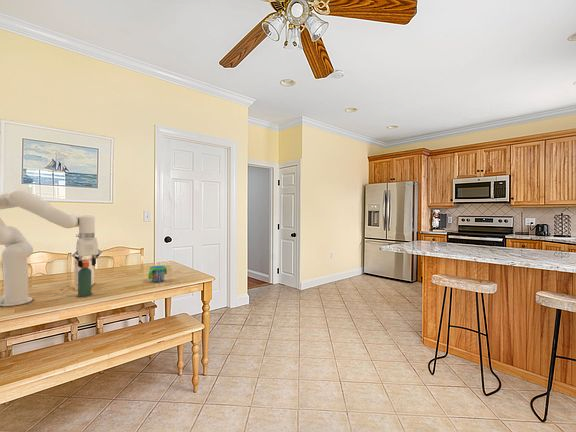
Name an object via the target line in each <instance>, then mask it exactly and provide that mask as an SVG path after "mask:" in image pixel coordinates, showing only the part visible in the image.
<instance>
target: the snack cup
mask: <svg viewBox="0 0 576 432" xmlns="http://www.w3.org/2000/svg"><path fill="white" fill-rule="evenodd" d="M167 274H168V270H167V266H166V265H152V266H150V267H149V270H148V276H147V277H148V279H150V280H151V282H153V283H160V282H163V281H164V280H165V275H167Z"/></svg>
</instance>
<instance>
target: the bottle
mask: <svg viewBox="0 0 576 432" xmlns="http://www.w3.org/2000/svg"><path fill="white" fill-rule="evenodd" d="M90 296H92V286H91V270H90V269H89V268H88V267H87V268H81V269H80V270H79V272H78V290H77V297H80V298H83V297H90Z"/></svg>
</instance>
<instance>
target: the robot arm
mask: <svg viewBox="0 0 576 432" xmlns="http://www.w3.org/2000/svg"><path fill="white" fill-rule="evenodd" d="M12 208H13V209H14V208H20V209H22V210H25V211H27V212H29V213H31V214H33V215H37V216H38V217H40V218H42V219H45V220H46V221H48V222H49V223H52V224H54V225H57V226H59V227H61V228H64V229H72V228H78V234H75V237H76V238H77V240H76V246H75V250H74V252H72V253H71V254H70V256H71V257H72V258H74V260H75V259H76V260H78V266H79V267H80V268H82V261H81V259H82V257H83V256H88V255H92V257H93V259H92V265H93V266H94V267H96V264H97V259H98V257H100V255H101V254H103V251H101V250H100V249H99V244H98V239H97V237H95V236H96V234H95V233H96V230H95V229H96V227H95V226H96V225H95V223H96V222H95V219H96V218H95V216H94V215H92V214H82V215H79V214H68V213H66V212H64V211H63V210H60V209H58V208H56V207H54V205H52V203H50V202H49V201H47V200H45V199H42V198H40V197H38V196H36V195H34V194H32V193H31V192H30V191H29V190H28V191H27V190H24V189H13V190H11V191H10V192H4V193H3V192H2V193H0V210H6V209H12ZM0 246H4V248H3V250H2V252H1V263H2V270H3V271H2V272H3V274H2V275H3V295H1V296H0V307H15V306H20V305H24V304H25V305H26V304H28V303H30V302H32V301H33V297H32V296H29V264H28V258H29V257H30V256H32V255H33V252H34V249H33V246H32V244H31V243H30V242H29V240H28V239H27V238H26V237H25V235H24V234H23V233H22V232H21V231H20V230H19V229H18V228H16V227H14V226H11V225H7V224H6V223H5V222H4V221H3V220H2V218H1V217H0Z"/></svg>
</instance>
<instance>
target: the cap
mask: <svg viewBox="0 0 576 432" xmlns="http://www.w3.org/2000/svg"><path fill="white" fill-rule="evenodd" d="M87 267H89V262H82V268H87Z"/></svg>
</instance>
